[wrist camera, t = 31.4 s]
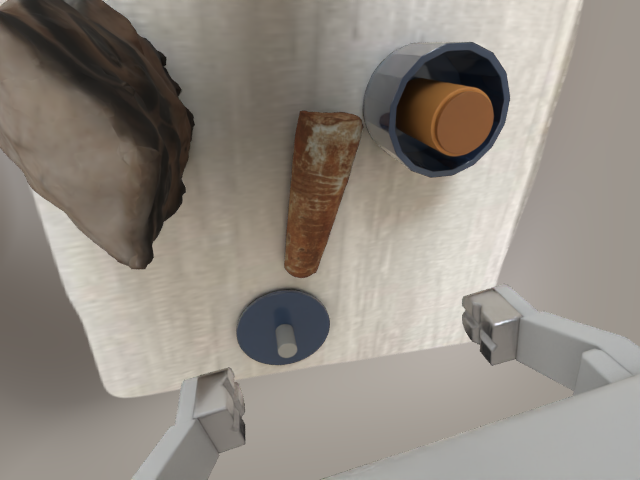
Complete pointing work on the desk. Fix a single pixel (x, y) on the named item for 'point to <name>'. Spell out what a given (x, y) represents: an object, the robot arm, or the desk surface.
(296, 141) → the bread
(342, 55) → the desk surface
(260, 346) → the pot lid
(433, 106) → the tall brown tube
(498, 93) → the pot
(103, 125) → the owl
